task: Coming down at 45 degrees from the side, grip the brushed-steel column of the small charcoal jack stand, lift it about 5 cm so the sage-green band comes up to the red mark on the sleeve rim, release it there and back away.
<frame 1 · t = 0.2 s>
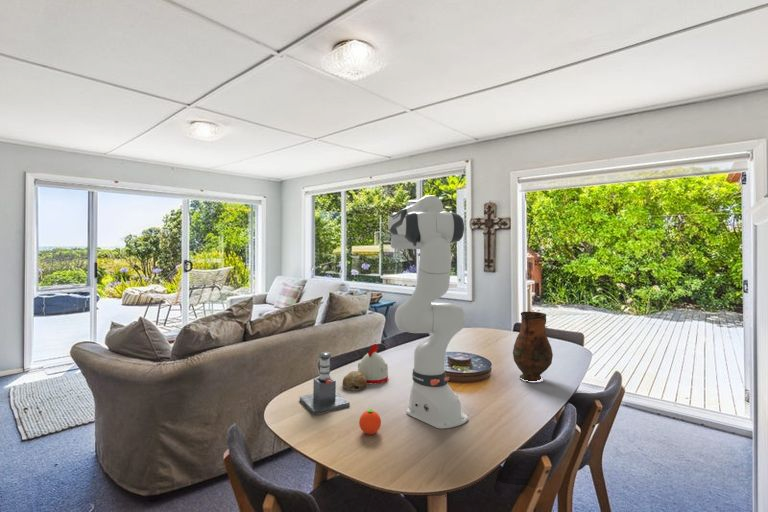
hand: (409, 255, 193), 54 cm above the table, tool tilted 30°, fingers open, 8 cm apart
column: (324, 376, 141), point 10 cm above the table, slide at 0.0 cm
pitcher: (533, 378, 173), on the table
clementine: (369, 432, 121), on the table
bread roll: (354, 386, 160), on the table
kitchen timer: (372, 378, 169), on the table
stand base: (324, 403, 142), on the table
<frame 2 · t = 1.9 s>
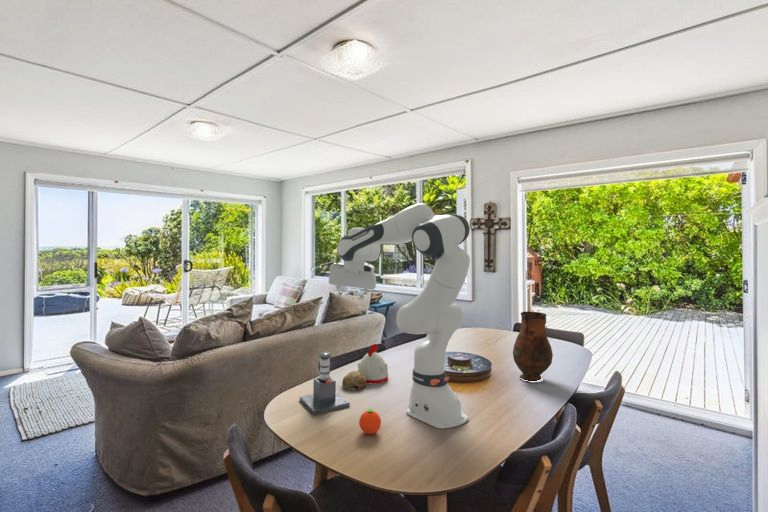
hand: (350, 297, 163), 37 cm above the table, tool pointing down, fingers open, 8 cm apart
nothing on the table moved.
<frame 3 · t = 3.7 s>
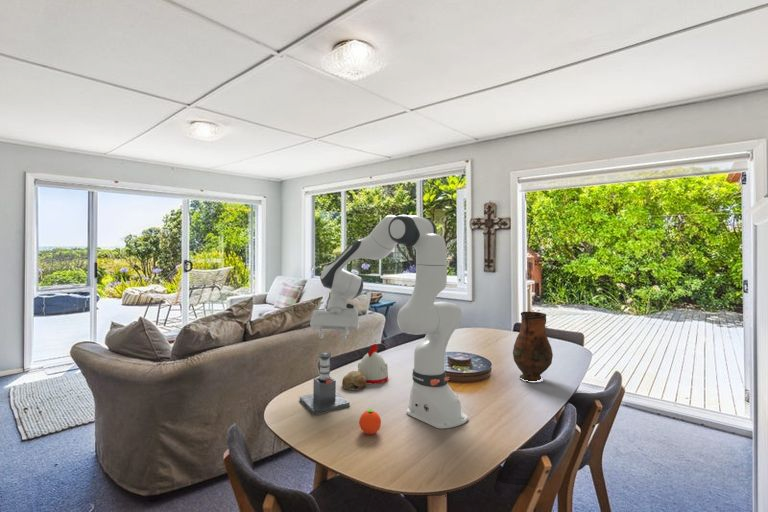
hand: (332, 337, 153), 22 cm above the table, tool tilted 45°, fingers open, 8 cm apart
nothing on the table moved.
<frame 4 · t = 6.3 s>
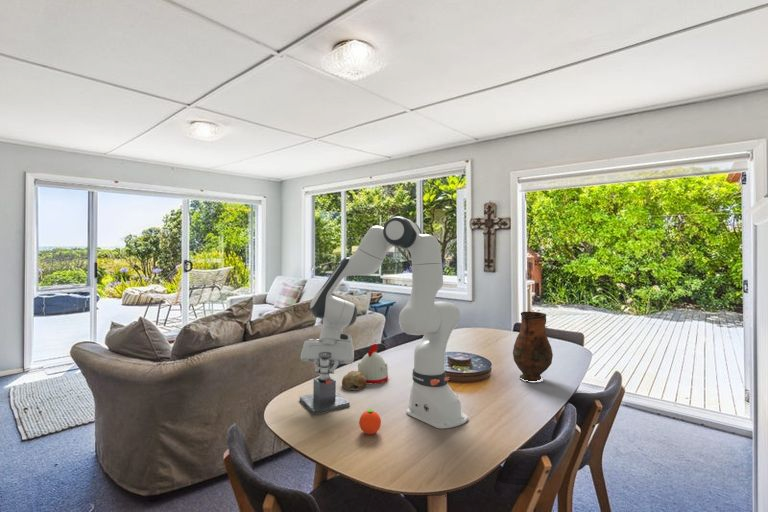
hand: (324, 372, 141), 12 cm above the table, tool tilted 45°, fingers closed on column, 4 cm apart
column: (324, 376, 141), point 10 cm above the table, slide at 0.0 cm, touching gripper
everything else where it was.
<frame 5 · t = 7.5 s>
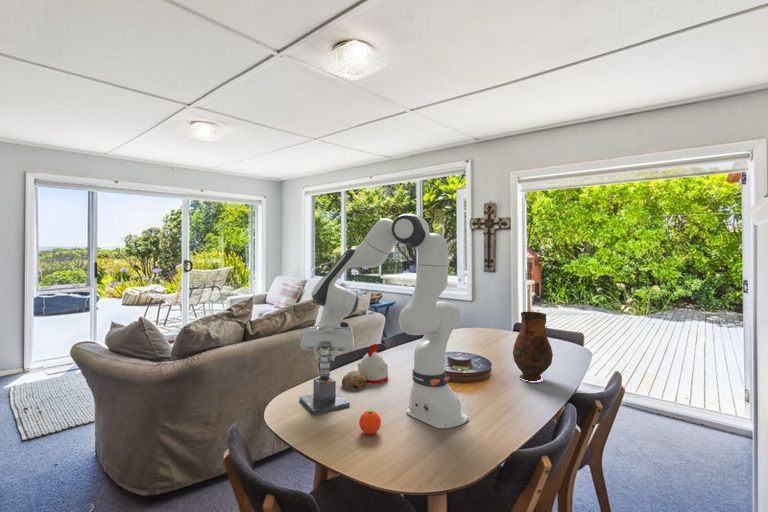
hand: (324, 360, 141), 17 cm above the table, tool tilted 45°, fingers closed on column, 4 cm apart
column: (324, 365, 141), point 14 cm above the table, slide at 4.1 cm, touching gripper
everything else where it was.
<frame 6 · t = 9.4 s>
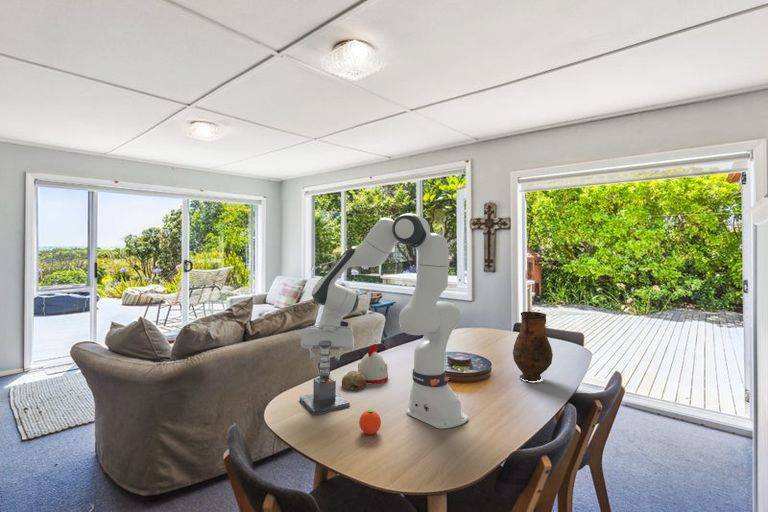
hand: (324, 359, 141), 17 cm above the table, tool tilted 45°, fingers open, 8 cm apart
column: (324, 364, 141), point 15 cm above the table, slide at 4.3 cm
everything else where it was.
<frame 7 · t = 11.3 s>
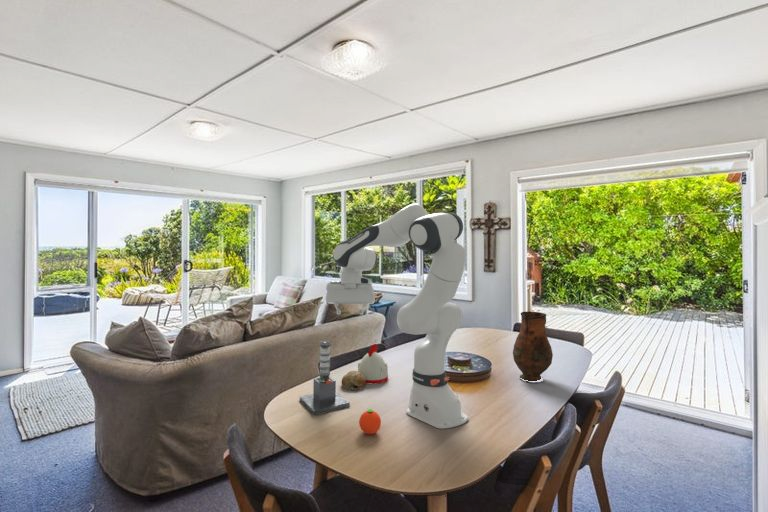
hand: (349, 314, 156), 31 cm above the table, tool tilted 20°, fingers open, 8 cm apart
nothing on the table moved.
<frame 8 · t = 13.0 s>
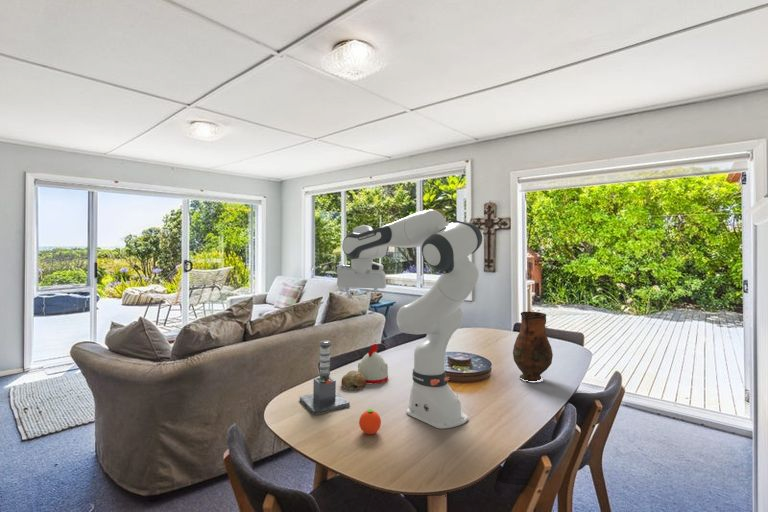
hand: (361, 298, 157), 37 cm above the table, tool pointing down, fingers open, 8 cm apart
nothing on the table moved.
at the end: column slide at 4.3 cm; the gripper is holding nothing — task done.
